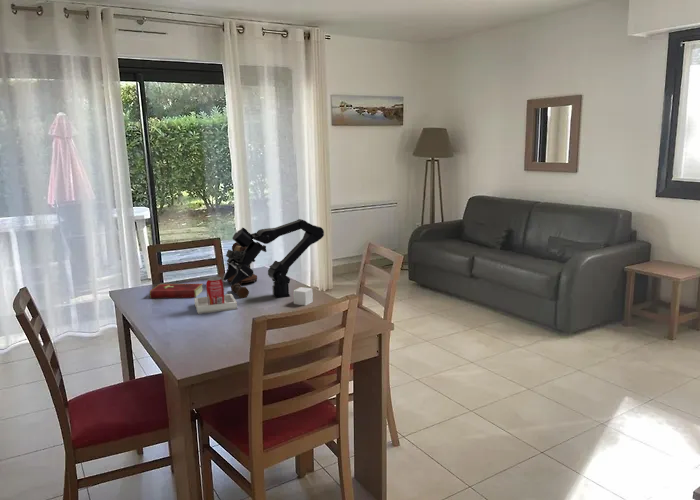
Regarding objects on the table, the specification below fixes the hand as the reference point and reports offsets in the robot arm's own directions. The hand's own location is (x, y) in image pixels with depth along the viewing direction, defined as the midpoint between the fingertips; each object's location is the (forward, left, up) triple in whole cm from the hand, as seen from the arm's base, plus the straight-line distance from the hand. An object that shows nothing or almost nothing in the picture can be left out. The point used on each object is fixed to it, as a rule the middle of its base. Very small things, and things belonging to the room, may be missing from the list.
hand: (227, 282), depth 228 cm
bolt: (-7, -15, -10) cm, 19 cm away
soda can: (+6, +2, -9) cm, 11 cm away
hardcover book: (+20, -27, -11) cm, 35 cm away
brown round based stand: (-12, -36, -10) cm, 39 cm away
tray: (+6, +1, -10) cm, 12 cm away
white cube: (-30, +11, -10) cm, 34 cm away
